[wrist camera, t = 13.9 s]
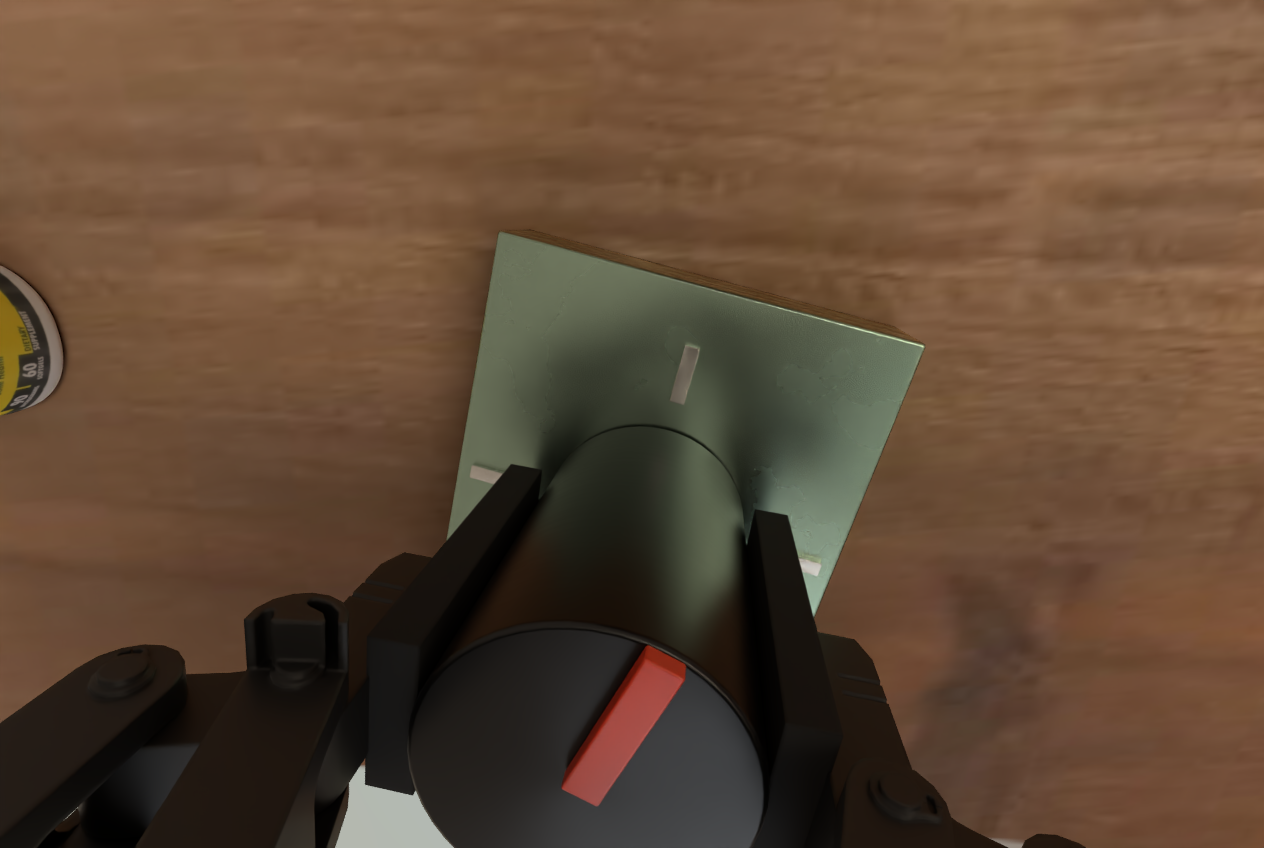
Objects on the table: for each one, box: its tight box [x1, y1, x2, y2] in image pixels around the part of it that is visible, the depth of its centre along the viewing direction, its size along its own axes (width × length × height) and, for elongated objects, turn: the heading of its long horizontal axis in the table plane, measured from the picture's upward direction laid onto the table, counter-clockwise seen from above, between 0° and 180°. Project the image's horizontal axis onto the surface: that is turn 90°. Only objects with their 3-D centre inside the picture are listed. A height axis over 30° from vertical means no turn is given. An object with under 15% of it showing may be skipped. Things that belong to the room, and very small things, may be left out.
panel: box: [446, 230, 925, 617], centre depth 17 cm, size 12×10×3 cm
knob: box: [407, 426, 770, 848], centre depth 12 cm, size 5×5×8 cm
